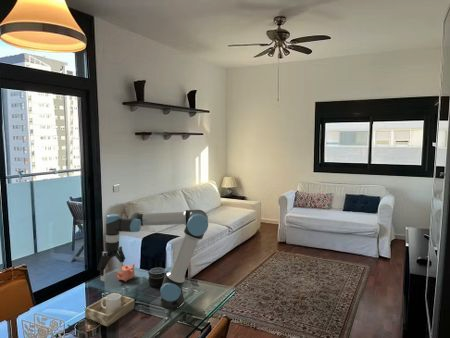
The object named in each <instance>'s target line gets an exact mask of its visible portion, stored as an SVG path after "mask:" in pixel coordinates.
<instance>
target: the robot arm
mask: <svg viewBox="0 0 450 338" xmlns="http://www.w3.org/2000/svg"><path fill="white" fill-rule="evenodd" d="M208 218H209V217H208V215H207V213H206V212H205V211H204V210H202V209H186V210H184V211H180V212H179V211H176V212H175V211H172V212H151V213H146V212H145V213H140V212H133V213H132V214H131V215H129V217H128V218H121V215H120V214H118V213H111V214H108V215H106V218H105V244H104V246H105V251H101V255H100V259H99V262H98V264H97V268H96V269H97V271H99V276H100V281H102V282H106V267H107V266H108V264H109V262H110V260H111V259H112V258H113V257H115V258H116V259H117V272H119V273H122V267H123V265H124V264H123V263H124V262H125V260H126V256H125V253H124V251H123V247H122V246H120V232H124V233H125V232H127V233H138V232H140V231H141V228H142V227H144V226H145V227H146V226H170V225H171V226H172V225H176V226H177V225H184V226H185V227H184V230H183V233H184V236H183V239H182V242H181V245H180V247H179V249H178V251H177V254H176V257H175V259H174V261H173V264H172V266H169V267H166V268H164V269H165V272H164V273H165V274H164V280H163V283H162V286H161V287H160V291H159V293H160V296H161V298H160V306H161V307H162V308H164V309H168V310H176V309H175V308H177V307H179V306H180V305H181V304H182V303H183V302H184V303H185V301H184V300H185V297H184V293H183V287H184V284H185V281H186V278H185V274H186V272H187V270H188V267H189V265H190V263H191V260H192V258H193V255H194V252H195V250H196V247H197V245H198V243H199V241H200V240H203V238H204V235H205V233H206V232H207V231H208V228H209V219H208ZM177 309H178V308H177Z"/></svg>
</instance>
